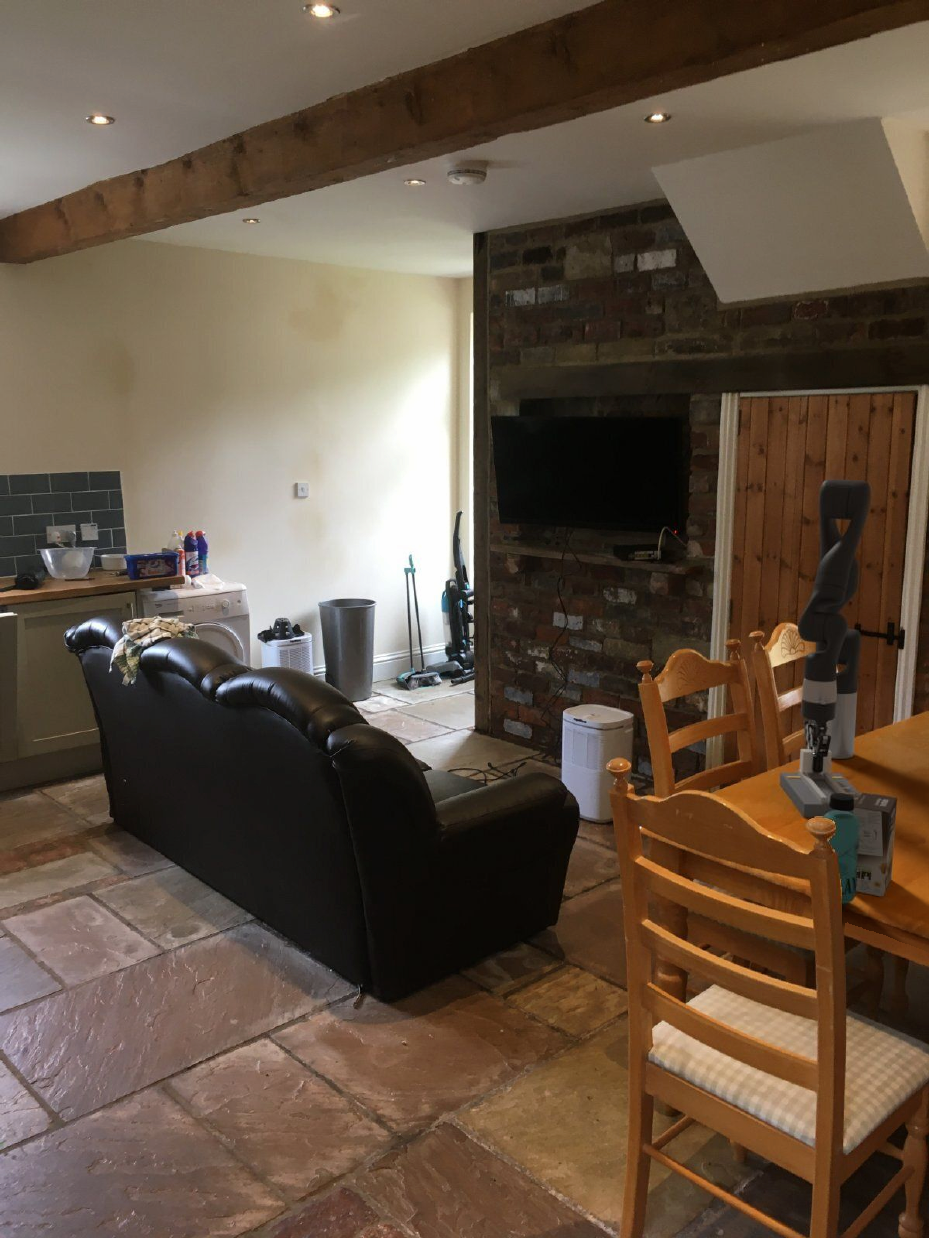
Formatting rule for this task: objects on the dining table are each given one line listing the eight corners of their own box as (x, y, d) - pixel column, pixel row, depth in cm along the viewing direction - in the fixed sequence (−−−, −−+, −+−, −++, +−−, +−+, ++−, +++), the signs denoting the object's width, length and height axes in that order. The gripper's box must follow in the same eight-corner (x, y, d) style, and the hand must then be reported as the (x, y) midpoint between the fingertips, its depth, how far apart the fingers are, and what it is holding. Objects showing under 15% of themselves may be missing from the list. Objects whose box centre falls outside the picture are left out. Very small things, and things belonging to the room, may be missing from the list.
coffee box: (884, 898, 178) (890, 812, 176) (846, 890, 182) (851, 806, 179) (892, 878, 186) (897, 796, 183) (855, 871, 189) (861, 791, 187)
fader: (798, 775, 235) (800, 748, 234) (826, 775, 234) (828, 748, 233) (802, 779, 232) (803, 752, 231) (830, 779, 231) (832, 752, 230)
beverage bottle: (820, 910, 174) (826, 801, 170) (812, 893, 180) (818, 788, 177) (859, 912, 173) (866, 802, 169) (850, 895, 179) (857, 789, 176)
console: (779, 784, 238) (780, 767, 237) (839, 785, 237) (840, 768, 236) (803, 817, 217) (804, 798, 216) (869, 818, 216) (870, 799, 215)
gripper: (794, 690, 237) (790, 759, 240) (810, 705, 223) (806, 779, 226) (826, 690, 236) (822, 760, 239) (845, 705, 223) (840, 779, 226)
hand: (815, 769), depth 233 cm, fingers open, 3 cm apart
